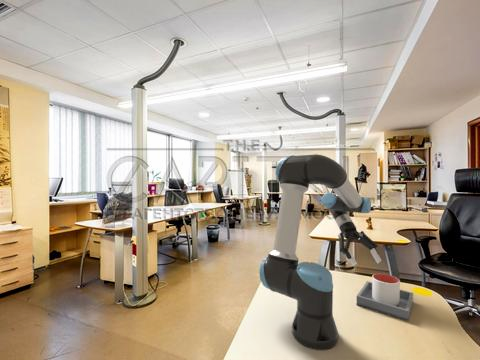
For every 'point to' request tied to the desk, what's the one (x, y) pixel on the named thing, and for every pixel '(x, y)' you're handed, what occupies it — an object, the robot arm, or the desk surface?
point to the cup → (386, 289)
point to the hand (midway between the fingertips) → (367, 263)
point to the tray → (398, 311)
